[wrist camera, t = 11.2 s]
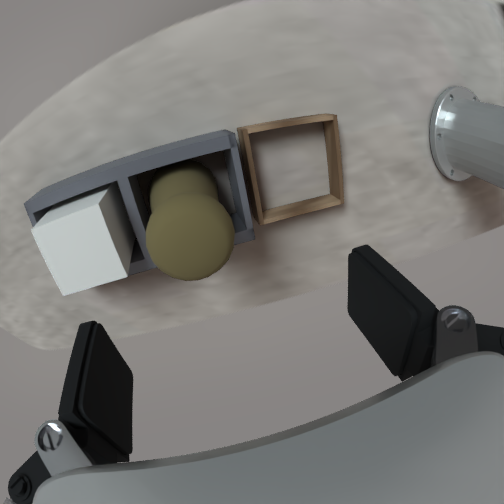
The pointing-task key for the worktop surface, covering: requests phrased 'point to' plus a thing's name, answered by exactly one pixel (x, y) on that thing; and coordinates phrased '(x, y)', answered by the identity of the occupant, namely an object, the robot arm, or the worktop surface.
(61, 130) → the worktop surface
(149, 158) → the grey divided tray
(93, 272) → the white block
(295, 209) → the wooden square frame
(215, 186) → the cork
